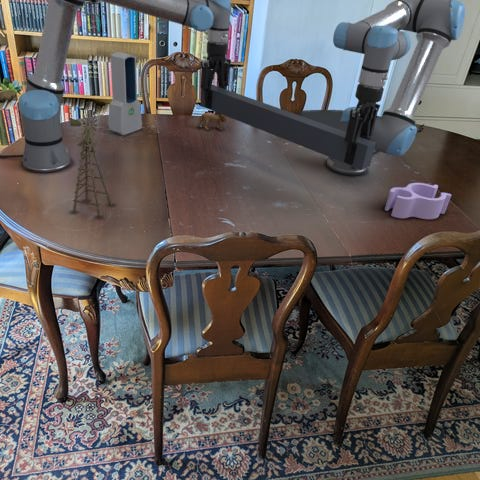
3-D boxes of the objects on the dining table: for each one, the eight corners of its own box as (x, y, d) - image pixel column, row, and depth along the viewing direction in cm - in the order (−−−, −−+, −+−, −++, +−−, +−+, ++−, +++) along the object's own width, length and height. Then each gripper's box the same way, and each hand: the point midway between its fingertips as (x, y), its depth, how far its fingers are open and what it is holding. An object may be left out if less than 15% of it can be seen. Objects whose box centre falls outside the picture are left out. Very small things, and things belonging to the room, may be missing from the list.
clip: (399, 222, 147) (405, 203, 144) (377, 203, 157) (382, 185, 153) (449, 217, 154) (457, 198, 150) (426, 199, 163) (432, 181, 160)
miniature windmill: (98, 218, 133) (90, 115, 117) (71, 213, 134) (59, 110, 118) (112, 203, 141) (106, 105, 124) (86, 199, 142) (76, 100, 125)
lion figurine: (226, 125, 208) (227, 105, 203) (230, 130, 204) (231, 109, 199) (194, 126, 203) (195, 106, 198) (197, 131, 199) (198, 110, 194)
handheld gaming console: (340, 130, 217) (344, 109, 212) (343, 132, 215) (347, 111, 209) (295, 131, 210) (299, 109, 204) (298, 134, 208) (301, 111, 202)
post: (200, 105, 181) (201, 85, 177) (209, 103, 184) (210, 83, 180) (361, 170, 142) (367, 146, 138) (370, 166, 145) (376, 142, 141)
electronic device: (121, 136, 186) (117, 57, 170) (107, 131, 189) (102, 53, 173) (142, 128, 196) (141, 53, 179) (129, 124, 199) (126, 49, 182)
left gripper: (206, 46, 159) (202, 113, 172) (242, 42, 171) (236, 105, 184) (191, 41, 163) (189, 107, 176) (227, 38, 175) (222, 100, 188)
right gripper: (366, 93, 125) (347, 172, 138) (397, 84, 137) (377, 158, 150) (343, 86, 130) (326, 163, 142) (375, 78, 141) (357, 150, 154)
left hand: (213, 106), depth 180 cm, fingers closed on post, 5 cm apart
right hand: (353, 160), depth 146 cm, fingers closed on post, 5 cm apart
